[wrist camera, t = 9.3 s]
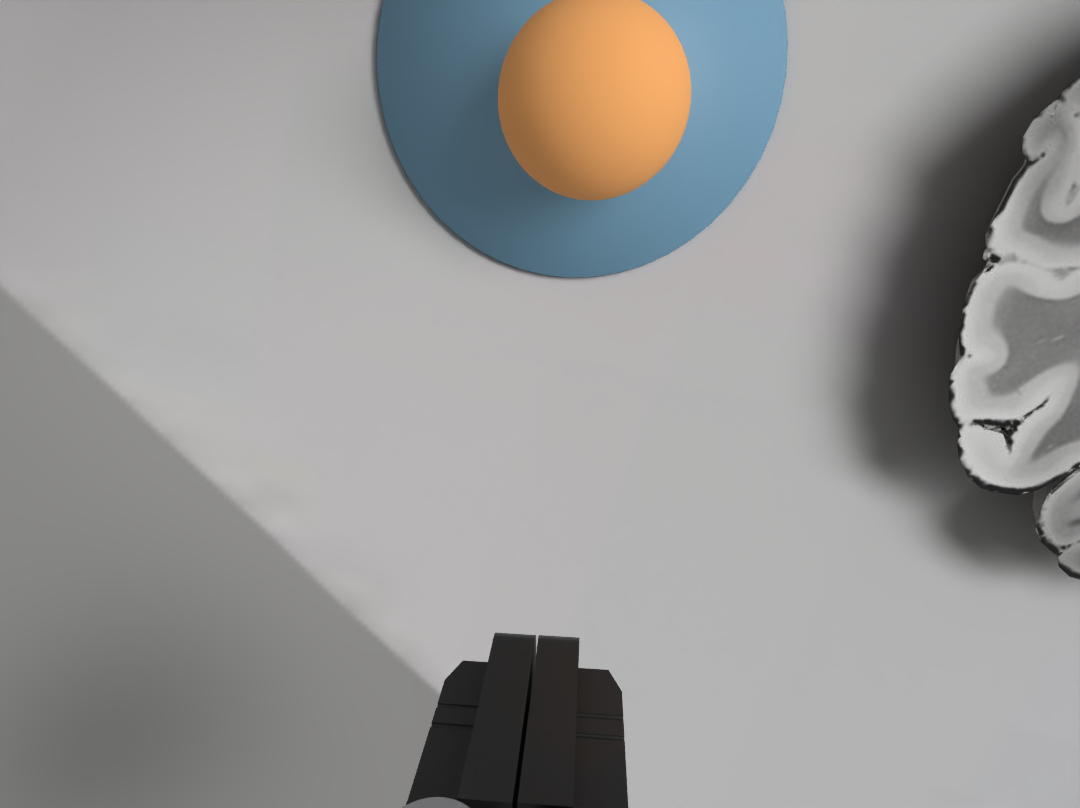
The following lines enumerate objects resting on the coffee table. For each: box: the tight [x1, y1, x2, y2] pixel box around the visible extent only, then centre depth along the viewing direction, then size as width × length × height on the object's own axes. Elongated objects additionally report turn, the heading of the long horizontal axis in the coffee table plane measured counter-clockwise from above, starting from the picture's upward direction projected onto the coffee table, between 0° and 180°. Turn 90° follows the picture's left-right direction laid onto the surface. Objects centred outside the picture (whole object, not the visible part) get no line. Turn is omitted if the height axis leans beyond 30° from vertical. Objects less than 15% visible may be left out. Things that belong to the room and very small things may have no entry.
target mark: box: [377, 0, 788, 278], centre depth 22 cm, size 13×13×1 cm
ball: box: [498, 0, 691, 200], centre depth 20 cm, size 6×6×6 cm
